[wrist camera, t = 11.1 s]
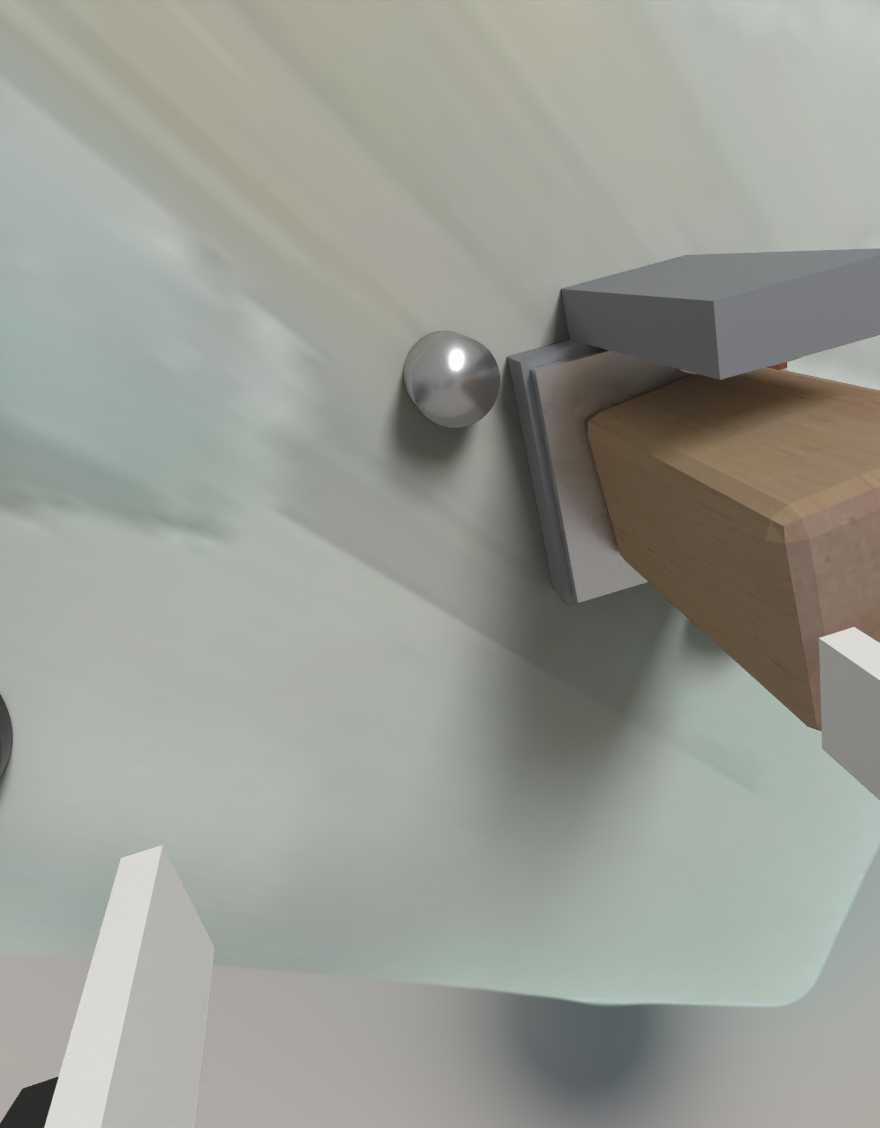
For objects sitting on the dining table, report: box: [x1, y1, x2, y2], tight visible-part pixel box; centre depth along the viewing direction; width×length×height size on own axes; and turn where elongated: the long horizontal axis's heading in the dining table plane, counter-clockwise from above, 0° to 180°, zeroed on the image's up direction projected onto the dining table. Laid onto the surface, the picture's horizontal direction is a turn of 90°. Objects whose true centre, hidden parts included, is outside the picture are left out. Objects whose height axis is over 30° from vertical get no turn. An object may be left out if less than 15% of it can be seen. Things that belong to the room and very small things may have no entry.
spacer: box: [403, 331, 500, 428], centre depth 43 cm, size 5×5×4 cm
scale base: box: [507, 249, 880, 605], centre depth 40 cm, size 16×19×18 cm
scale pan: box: [531, 349, 787, 603], centre depth 47 cm, size 15×15×4 cm
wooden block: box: [587, 367, 880, 731], centre depth 36 cm, size 10×10×20 cm
